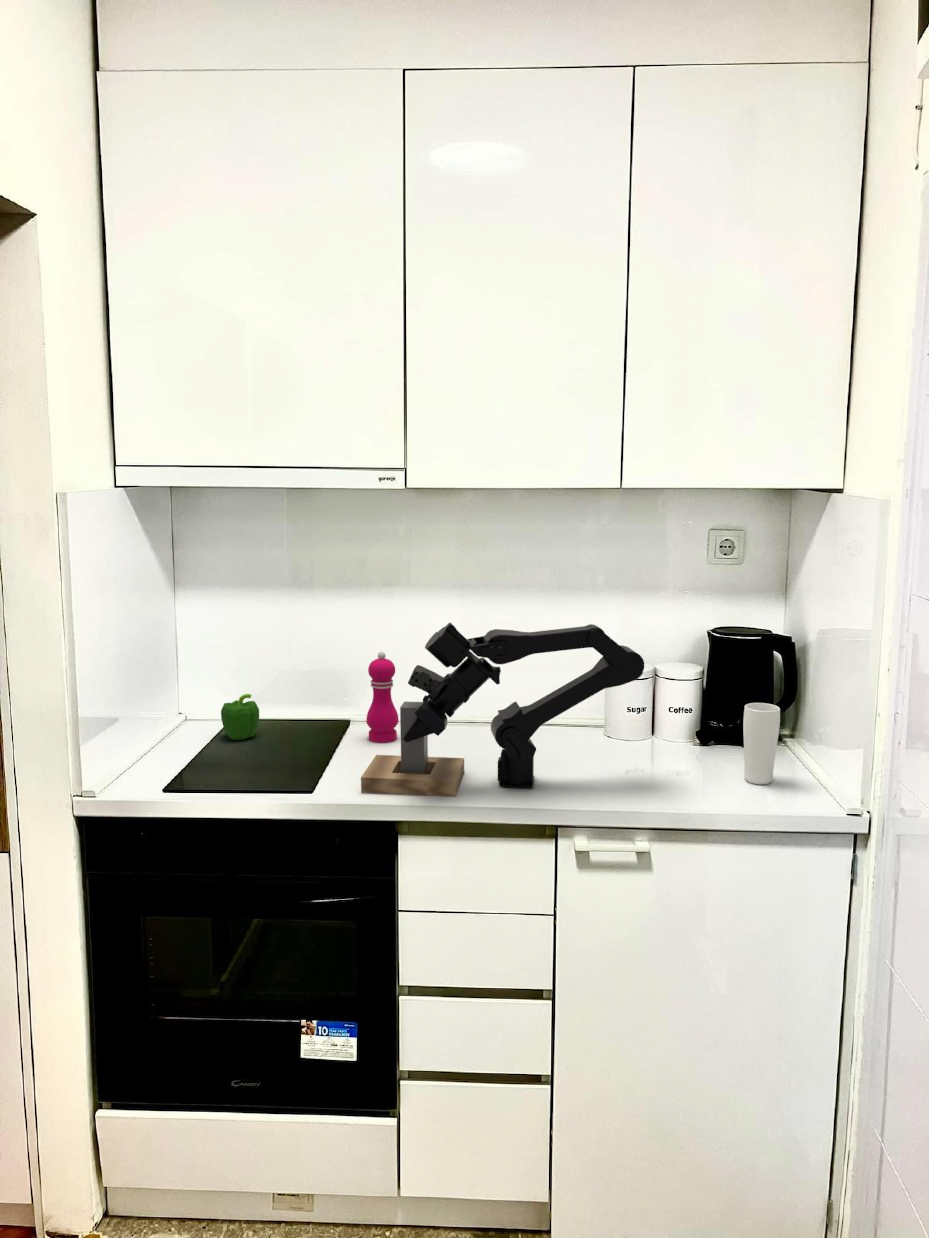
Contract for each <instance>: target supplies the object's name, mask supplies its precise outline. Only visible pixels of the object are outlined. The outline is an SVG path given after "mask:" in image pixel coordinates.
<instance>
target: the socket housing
mask: <svg viewBox="0 0 929 1238" xmlns="http://www.w3.org/2000/svg"><path fill="white" fill-rule="evenodd" d="M464 774H465V758H464V757H445V756H443V757H442V756H441V757H440V756H428V767H427V769H426V771H425V773H424V774H423V773H401V755H392V754H391V755H389V754H376V755H375V756H374V758H373V759H372V760H371V762H370V764H368V766H367V768H366V769H365V771H364V772H363V773H362V774H361V776H360V792H361V793H364V794H366V793H367V794H389V795H409V796H410V795H412V796H435V797H456V795H457V793H458V790H459V788H460V784H461V782H462V780H463V777H464Z"/></svg>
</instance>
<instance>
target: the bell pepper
mask: <svg viewBox="0 0 929 1238" xmlns="http://www.w3.org/2000/svg"><path fill="white" fill-rule="evenodd" d="M252 696H253V695H252V694H250V693H245V694H243V695H241V696H240V697H239V698H238V700H234V701H232V702H225V703H223V705H222V707H221V711H220V715H221V716H220V717H221V723H222V726H223V729H224V732H225V734H226V736H227V737H228V738H229V739H230V740H234V741H241V740H242V741H243V740H246V739H248V738H252V737H254V736H255V734H256V733H257V730H258V727H259V720H260V708H259V706H258V705H257V703H256V701H255V700H248V701H244V700H245V699H251V698H252Z"/></svg>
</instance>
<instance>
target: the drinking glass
mask: <svg viewBox="0 0 929 1238" xmlns="http://www.w3.org/2000/svg"><path fill="white" fill-rule="evenodd" d="M742 719H743V723H742V725H743V726H742V728H743V730H742V732H743V733H742V734H743V752H744V753H743V754H744V755H743V756H744V757H743V759H744V772H743V773H744V776H743V777H744V780H745V781H746V782H748V783H751V784H754V785H768V784H771V783H772V782H773V778H774V768H775V760H776V754H777V747H778V742H779V741H778V739H779V733H780V725H781V708H780V707H779V706H777V705H776V704H771V703H765V702H750V703H747V704H745V705H744V710H743V718H742Z"/></svg>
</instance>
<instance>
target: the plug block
mask: <svg viewBox="0 0 929 1238" xmlns="http://www.w3.org/2000/svg"><path fill="white" fill-rule="evenodd" d="M422 703H423V701H403V703H402V704H401V706H400V707H399V716H400V720H399V721H400V756H401V773H423V774H424V773H425V771H426V769H427V767H428V757H429V754H428V753H429V747H428V745H429V744H428V743H429V742H428V739H429V738H428V736H429V735H427V736H424V737H421V738H418V739H415V740H413V741H410V742H406V741H405V740H404V739H403V738H404V736H405V735H406V734H407V732H408V731H409V729H410V728H411V726H412V725H413V724H414V722H415V721H416V719H417V716H416V714H415V713H414V712H415V711H416V709H417V707H418V706H420V705H421V704H422Z"/></svg>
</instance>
